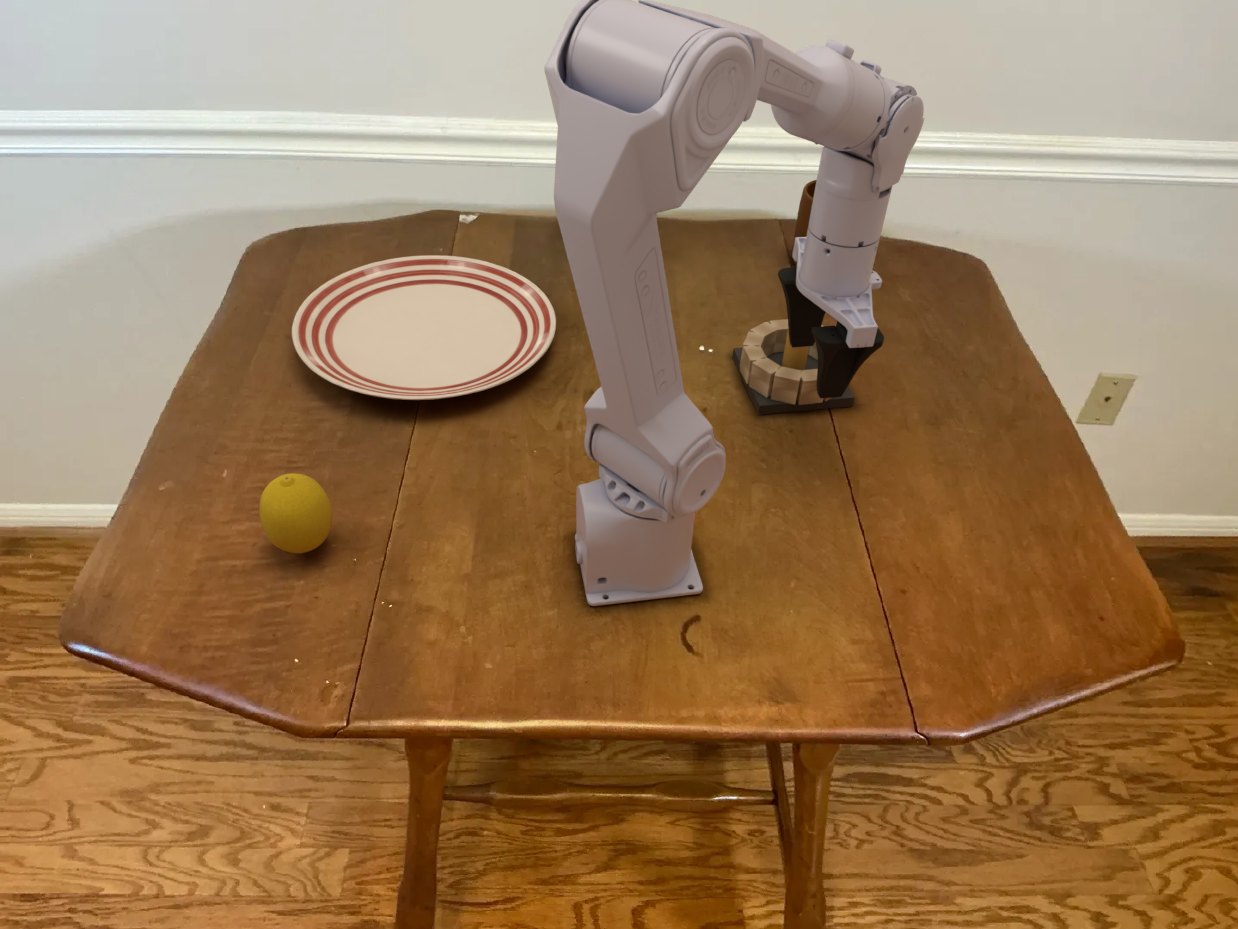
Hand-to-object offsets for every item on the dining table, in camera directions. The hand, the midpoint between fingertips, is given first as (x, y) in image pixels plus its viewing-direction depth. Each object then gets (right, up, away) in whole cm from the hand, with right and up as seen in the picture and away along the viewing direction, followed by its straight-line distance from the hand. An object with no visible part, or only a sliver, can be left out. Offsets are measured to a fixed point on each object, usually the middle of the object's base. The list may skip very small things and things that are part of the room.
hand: (815, 369), depth 84 cm
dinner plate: (-38, +4, +18) cm, 42 cm away
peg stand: (0, 0, +15) cm, 15 cm away
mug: (+8, +15, +32) cm, 36 cm away
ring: (+1, +1, +14) cm, 14 cm away
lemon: (-44, -16, -5) cm, 47 cm away
